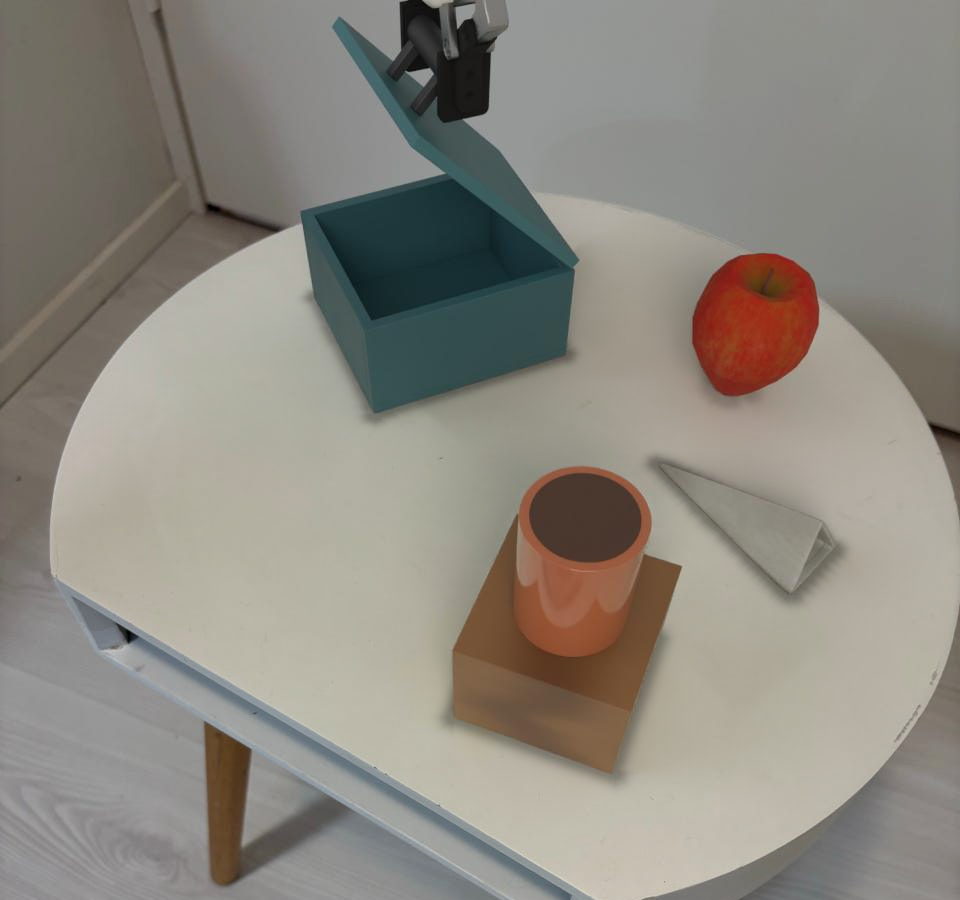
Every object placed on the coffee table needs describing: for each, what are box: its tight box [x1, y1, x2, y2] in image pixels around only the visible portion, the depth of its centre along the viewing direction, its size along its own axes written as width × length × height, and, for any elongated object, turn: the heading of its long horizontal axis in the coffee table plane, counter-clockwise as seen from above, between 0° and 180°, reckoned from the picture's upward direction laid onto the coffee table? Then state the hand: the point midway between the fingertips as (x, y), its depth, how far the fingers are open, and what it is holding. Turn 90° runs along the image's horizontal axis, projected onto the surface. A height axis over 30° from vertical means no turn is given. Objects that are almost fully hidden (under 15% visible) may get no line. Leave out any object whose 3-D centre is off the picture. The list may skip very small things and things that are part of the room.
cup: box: [512, 465, 653, 657], centre depth 51 cm, size 6×6×8 cm
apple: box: [691, 252, 820, 397], centre depth 70 cm, size 9×8×11 cm
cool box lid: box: [331, 14, 580, 268], centre depth 65 cm, size 16×14×5 cm
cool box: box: [299, 173, 576, 414], centre depth 74 cm, size 16×14×8 cm
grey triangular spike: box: [658, 462, 837, 595], centre depth 68 cm, size 6×5×13 cm
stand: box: [451, 513, 683, 775], centre depth 58 cm, size 10×10×8 cm
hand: (444, 87), depth 62 cm, fingers closed on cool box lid, 5 cm apart
